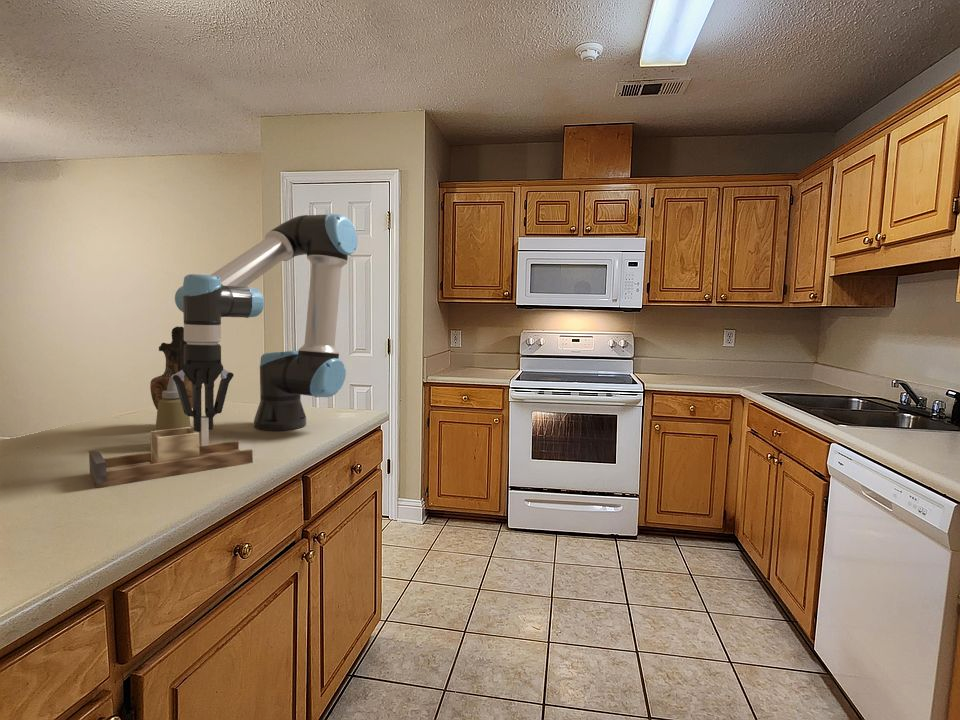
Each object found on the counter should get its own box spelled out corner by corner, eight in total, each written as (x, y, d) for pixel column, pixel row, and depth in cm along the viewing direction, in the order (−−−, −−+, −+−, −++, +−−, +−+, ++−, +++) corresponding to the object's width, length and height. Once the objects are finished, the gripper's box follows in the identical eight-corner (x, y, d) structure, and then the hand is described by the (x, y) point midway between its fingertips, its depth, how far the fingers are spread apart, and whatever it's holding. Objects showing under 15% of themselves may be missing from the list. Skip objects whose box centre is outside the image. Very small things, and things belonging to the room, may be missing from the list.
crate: (190, 456, 123) (190, 426, 122) (199, 463, 118) (199, 433, 117) (151, 461, 118) (150, 431, 117) (158, 470, 112) (158, 438, 112)
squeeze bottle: (175, 451, 130) (174, 380, 129) (147, 448, 132) (145, 377, 130) (198, 443, 138) (197, 376, 136) (172, 440, 140) (171, 374, 138)
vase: (185, 421, 162) (184, 324, 159) (206, 428, 155) (205, 326, 152) (144, 427, 153) (141, 324, 150) (163, 434, 145) (161, 327, 142)
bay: (237, 452, 132) (237, 432, 131) (252, 462, 124) (252, 441, 123) (89, 473, 112) (89, 451, 111) (96, 488, 104) (96, 463, 103)
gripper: (227, 341, 126) (228, 437, 128) (166, 342, 117) (167, 445, 119) (238, 344, 121) (238, 444, 123) (174, 344, 112) (176, 452, 114)
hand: (203, 444), depth 121 cm, fingers closed
